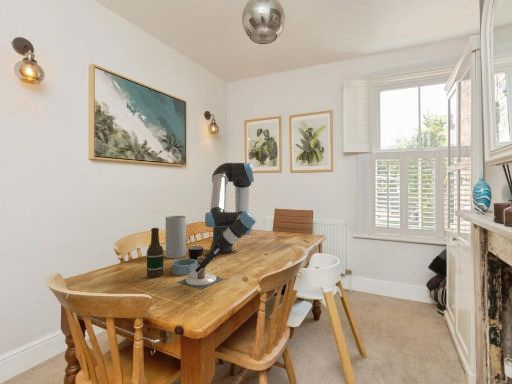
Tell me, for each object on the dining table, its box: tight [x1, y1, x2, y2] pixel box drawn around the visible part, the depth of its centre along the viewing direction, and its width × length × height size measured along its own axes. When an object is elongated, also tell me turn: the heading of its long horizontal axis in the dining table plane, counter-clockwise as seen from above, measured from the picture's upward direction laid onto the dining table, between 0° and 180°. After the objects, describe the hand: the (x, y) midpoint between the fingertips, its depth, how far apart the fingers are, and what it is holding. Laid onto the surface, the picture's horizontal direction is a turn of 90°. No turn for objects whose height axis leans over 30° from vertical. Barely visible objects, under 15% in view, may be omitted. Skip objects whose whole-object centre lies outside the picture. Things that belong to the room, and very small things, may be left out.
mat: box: [175, 276, 225, 291], centre depth 129 cm, size 16×16×1 cm
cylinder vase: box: [165, 215, 187, 259], centre depth 173 cm, size 12×12×25 cm
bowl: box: [171, 258, 197, 276], centre depth 143 cm, size 12×12×5 cm
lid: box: [185, 256, 217, 286], centre depth 128 cm, size 14×14×11 cm
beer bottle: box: [146, 227, 165, 280], centre depth 135 cm, size 8×8×24 cm
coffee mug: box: [187, 245, 204, 260], centre depth 156 cm, size 12×9×10 cm
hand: (194, 272), depth 129 cm, fingers open, 10 cm apart
